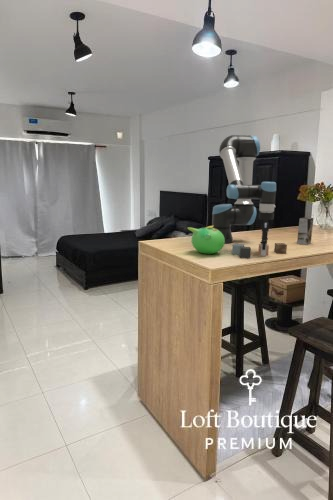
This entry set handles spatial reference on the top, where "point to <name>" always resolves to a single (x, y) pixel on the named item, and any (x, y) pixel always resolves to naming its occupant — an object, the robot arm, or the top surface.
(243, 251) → the black rubber cube
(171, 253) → the top surface
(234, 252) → the slate grey cube
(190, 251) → the top surface
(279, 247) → the walnut cube
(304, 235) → the coffee box
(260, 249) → the terracotta cube
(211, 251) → the toy bird
